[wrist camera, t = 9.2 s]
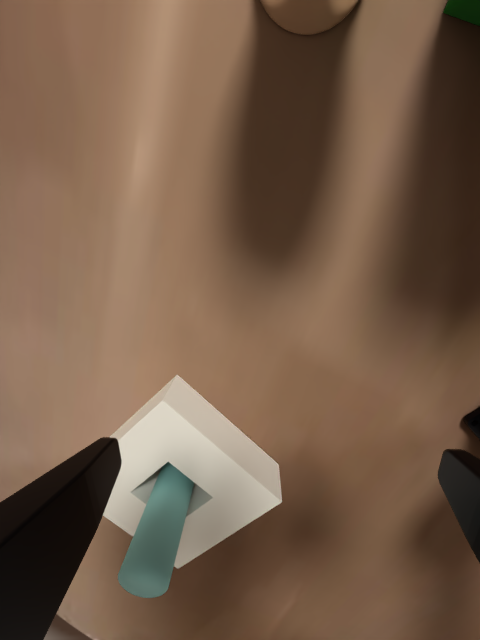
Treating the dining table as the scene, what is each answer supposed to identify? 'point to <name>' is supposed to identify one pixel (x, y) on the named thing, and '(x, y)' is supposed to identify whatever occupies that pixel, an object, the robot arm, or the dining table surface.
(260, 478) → the socket block
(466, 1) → the milk carton
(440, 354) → the dining table surface
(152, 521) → the peg
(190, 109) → the dining table surface
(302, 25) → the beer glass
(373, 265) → the dining table surface
